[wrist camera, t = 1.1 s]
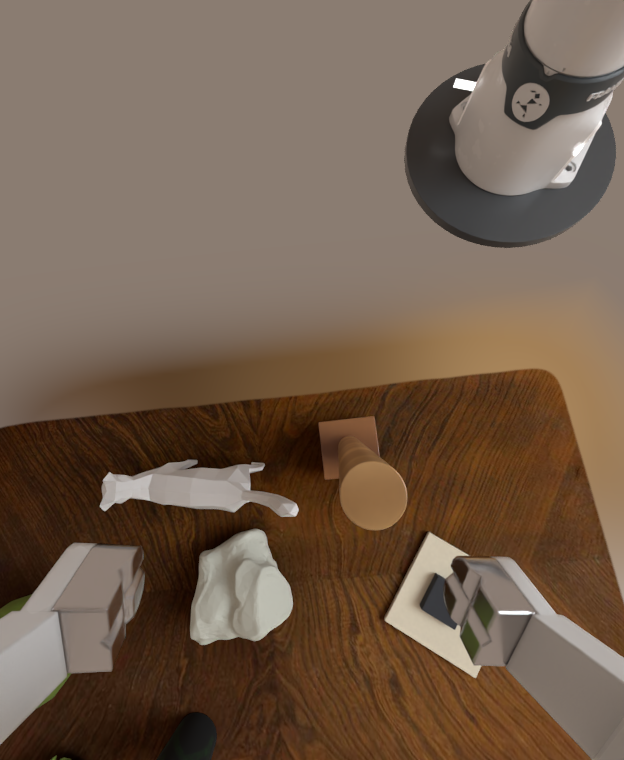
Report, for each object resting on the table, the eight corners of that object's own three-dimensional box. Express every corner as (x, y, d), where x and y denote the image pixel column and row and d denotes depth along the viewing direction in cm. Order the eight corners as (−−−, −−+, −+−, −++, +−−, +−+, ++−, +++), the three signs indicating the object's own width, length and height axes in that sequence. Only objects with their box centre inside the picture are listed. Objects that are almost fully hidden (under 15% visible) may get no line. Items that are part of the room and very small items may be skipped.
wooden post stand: (319, 422, 41) (283, 421, 13) (371, 416, 41) (443, 403, 13) (325, 474, 40) (300, 591, 12) (378, 469, 40) (472, 576, 12)
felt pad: (435, 572, 37) (438, 576, 36) (468, 591, 37) (471, 596, 36) (419, 604, 37) (421, 609, 36) (451, 625, 36) (455, 630, 35)
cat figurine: (156, 454, 42) (66, 471, 28) (312, 463, 40) (298, 484, 26) (152, 491, 41) (59, 525, 28) (310, 501, 40) (295, 543, 26)
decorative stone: (262, 512, 39) (275, 597, 30) (290, 556, 43) (308, 641, 34) (174, 553, 38) (161, 652, 29) (212, 593, 42) (210, 690, 33)
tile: (427, 530, 38) (429, 532, 38) (517, 583, 37) (520, 585, 36) (383, 617, 38) (384, 620, 37) (473, 674, 36) (475, 678, 36)
